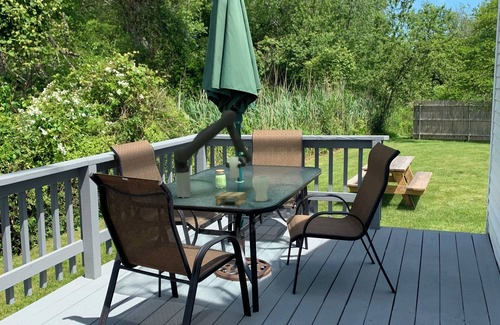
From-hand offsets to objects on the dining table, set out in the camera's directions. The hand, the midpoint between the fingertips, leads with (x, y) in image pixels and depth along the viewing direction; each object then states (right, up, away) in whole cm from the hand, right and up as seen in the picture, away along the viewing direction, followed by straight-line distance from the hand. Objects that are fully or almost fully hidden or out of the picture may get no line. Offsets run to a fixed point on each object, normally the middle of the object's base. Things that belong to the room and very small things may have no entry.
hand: (233, 166), depth 325 cm
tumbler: (+1, -7, +3) cm, 8 cm away
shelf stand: (-1, -23, -8) cm, 24 cm away
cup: (+18, -22, -3) cm, 28 cm away
